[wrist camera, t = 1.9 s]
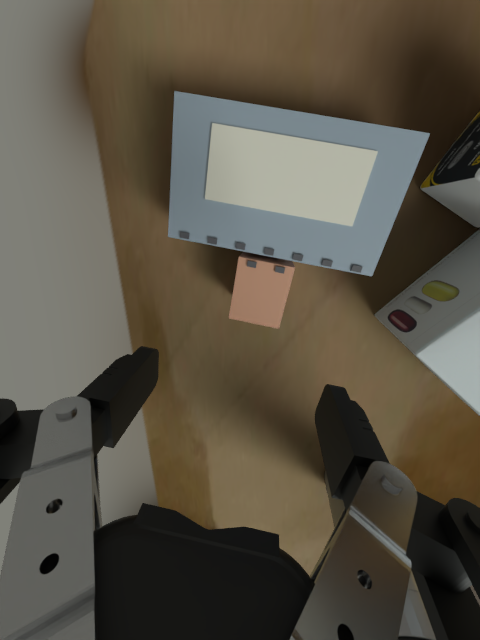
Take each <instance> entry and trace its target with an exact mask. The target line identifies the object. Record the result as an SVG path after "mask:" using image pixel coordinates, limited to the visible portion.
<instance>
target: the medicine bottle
mask: <svg viewBox="0 0 480 640" xmlns="http://www.w3.org/2000/svg"><path fill="white" fill-rule="evenodd" d="M420 189H421V190H422V191H424V192H425V193H427V194H428V195H430V196H431V197H432V198H434V199H435V200H437V201H438V202H440V203H441V204H443V205H444V206H445V207H447V208H448V209H450V210H451V211H453V212H454V213H455V214H457V215H458V216H460V217H461V218H463V219H464V220H466V221H467V222H468V223H470V224H471V225H473V226H474V227H480V111H479V112H478V114H477V115H476V116H475V117H474V119H473V120H472V121H471V122H470V124H469V125H468V126H467V127H466V129H465V130H464V131H463V132H462V134H461V135H460V136H459V138H458V139H457V140H456V141H455V143H454V144H453V145H452V146H451V148H450V149H449V150H448V151H447V153H446V154H445V155H444V156H443V158H442V159H441V160H440V162H439V163H438V164H437V165H436V167H435V168H434V169H433V170H432V172H431V173H430V174H429V175H428V177H427V178H426V179H425V181H424V182H423V183H422V184H421V186H420Z"/></svg>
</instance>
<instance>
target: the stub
mask: <svg viewBox="0 0 480 640" xmlns="http://www.w3.org/2000/svg"><path fill="white" fill-rule="evenodd" d="M294 270H295V266H294V264H293V262H292V261H290V260H285V259H279V258H274V257H269V256H264V255H259V254H254V253H249V252H243V253H242V254H241V255H240V256H239V259H238V265H237V271H236V277H235V283H234V289H233V295H232V301H231V307H230V313H229V318H230V319H234V320H239V321H244V322H249V323H254V324H259V325H263V326H268V327H273V328H278V329H279V326H280V323H281V319H282V315H283V311H284V308H285V304H286V300H287V296H288V293H289V289H290V285H291V281H292V278H293V274H294Z"/></svg>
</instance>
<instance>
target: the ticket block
mask: <svg viewBox="0 0 480 640" xmlns="http://www.w3.org/2000/svg"><path fill="white" fill-rule="evenodd" d="M429 135H430V133H425V132H419V131H413V130H407V129H401V128H395V127H389V126H383V125H377V124H371V123H365V122H359V121H353V120H347V119H341V118H335V117H329V116H323V115H317V114H311V113H305V112H299V111H292V110H286V109H280V108H274V107H268V106H262V105H256V104H250V103H244V102H238V101H232V100H226V99H220V98H214V97H208V96H202V95H196V94H190V93H184V92H178V91H174V112H173V135H172V159H171V182H170V206H169V229H168V237H171V238H177V239H182V240H187V241H192V242H197V243H202V244H207V245H213V246H218V247H223V248H228V249H233V250H238V251H243V252H249V253H254V254H259V255H264V256H269V257H274V258H279V259H285V260H290V261H295V262H300V263H305V264H310V265H315V266H321V267H326V268H331V269H336V270H341V271H346V272H351V273H357V274H362V275H367V276H372V275H373V273H374V270H375V268H376V266H377V263H378V261H379V258H380V256H381V253H382V251H383V248H384V246H385V243H386V241H387V238H388V236H389V234H390V231H391V229H392V226H393V224H394V221H395V219H396V216H397V214H398V211H399V209H400V206H401V204H402V202H403V199H404V197H405V194H406V192H407V189H408V187H409V184H410V182H411V179H412V177H413V175H414V172H415V170H416V167H417V165H418V162H419V160H420V157H421V155H422V152H423V150H424V147H425V145H426V143H427V140H428V138H429Z"/></svg>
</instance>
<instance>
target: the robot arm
mask: <svg viewBox="0 0 480 640" xmlns="http://www.w3.org/2000/svg"><path fill="white" fill-rule="evenodd" d="M158 359H159V352H158V350H157V349H153V348H148V347H143V346H141V347H139V348H138V349H137V350H136V351H135V352H134V353H133V354H132V355H129V354H127V355H125V356H123V357H121V358H119V359H117V360H116V361H114V362H113V363H112V364H111V365H110V366H109V368H107V369H106V370H105V371H104V372H103V373H102V374H101V375H99V376H98V377H97V378H96V379H95V380H94V381H93V382H92V383H91V384H90V385H88V387H86V388H85V389H84V390H83V391H82V392H81V393H80V394H79V395H78V396H77V397H68V398H63V399H60V400H58V401H56V402H54V403H52V404H50V405H49V406H48V407H47V408H45V409H44V410H26V411H17V407H16V404H15V403H14V402H13V401H12V400H9V399H0V503H1V502H2V501H3V500H4V499H5V498H6V497H7V496H8V494H9V493H10V492H11V491H12V490H13V489H14V488H15V487H16V485H17V484H18V483H19V482H20V485H19V489H18V494H17V499H16V504H15V509H14V514H13V518H12V523H11V527H10V532H9V537H8V542H7V546H6V551H5V556H4V561H3V565H2V570H1V575H0V640H480V606H479V604H478V602H477V600H476V598H475V596H474V594H473V592H472V590H471V588H470V586H471V585H473V587H474V589H475V591H476V593H477V595H478V597H479V599H480V508H479V507H477V506H476V505H474V504H472V503H470V502H468V501H466V500H463V499H459V498H453V499H451V500H449V502H448V503H447V504H446V505H443V504H441V503H439V502H437V501H435V500H433V499H431V498H429V497H427V496H425V495H423V494H421V493H419V492H417V491H416V489H415V487H414V485H413V484H412V482H411V481H410V480H409V478H408V477H407V476H406V475H405V474H404V473H403V472H401V471H400V470H399V469H398V468H396V467H394V466H393V465H391V464H390V463H389V461H388V459H387V457H386V455H385V453H384V451H383V449H382V447H381V445H380V443H379V441H378V439H377V436H376V434H375V432H373V428H372V426H371V424H370V423H369V420H368V418H367V416H366V414H365V412H364V410H363V409H362V408H361V407H360V406H359V405H358V404H357V403H356V402H355V401H352V400H350V398H349V396H348V394H347V391H346V389H345V388H344V387H339V386H334V385H329V384H327V385H326V386H325V388H324V390H323V393H322V395H321V398H320V400H319V403H318V406H317V408H316V412H315V424H316V429H317V433H318V438H319V442H320V447H321V451H322V456H323V460H324V465H325V469H326V471H325V474H324V478H325V483H326V490H327V493H328V498H329V503H330V508H331V513H332V518H333V523H334V530H333V532H332V534H331V536H330V538H329V540H328V542H327V544H326V546H325V548H324V550H323V552H322V554H321V556H320V558H319V560H318V562H317V564H316V566H315V567H314V569H313V571H312V573H311V575H310V577H309V575H308V574H307V573H306V571H305V570H304V569H303V568H302V567H301V565H300V564H299V563H298V562H297V561H296V560H294V559H293V558H292V557H291V556H290V555H289V554H287V553H286V552H285V551H283V550H282V549H280V548H279V535H278V534H274V533H270V532H265V531H261V530H257V529H253V528H248V527H236V528H225V529H214V530H208V529H205V528H203V527H202V526H200V525H198V524H197V523H195V522H193V521H192V520H190V519H188V518H187V517H185V516H183V515H182V514H180V513H179V512H177V511H175V510H170V509H166V508H162V507H157V506H153V505H148V504H144V503H143V504H142V506H141V508H140V510H139V513H138V515H132V516H128V517H123V518H120V519H118V520H115V521H112V522H110V523H108V524H106V525H104V526H103V527H102V518H101V508H100V492H99V475H98V457H97V454H98V452H99V451H100V450H101V448H102V447H103V446H106V447H111V448H114V447H115V445H116V444H117V442H118V441H119V439H120V438H121V436H122V435H123V434H124V432H125V431H126V429H127V428H128V426H129V425H130V423H131V422H132V420H133V419H134V417H135V416H136V414H137V413H138V411H139V410H140V409H141V407H142V406H143V404H144V403H145V401H146V400H147V398H148V397H149V395H150V394H151V392H152V391H153V389H154V388H155V386H156V383H157V380H158Z"/></svg>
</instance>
